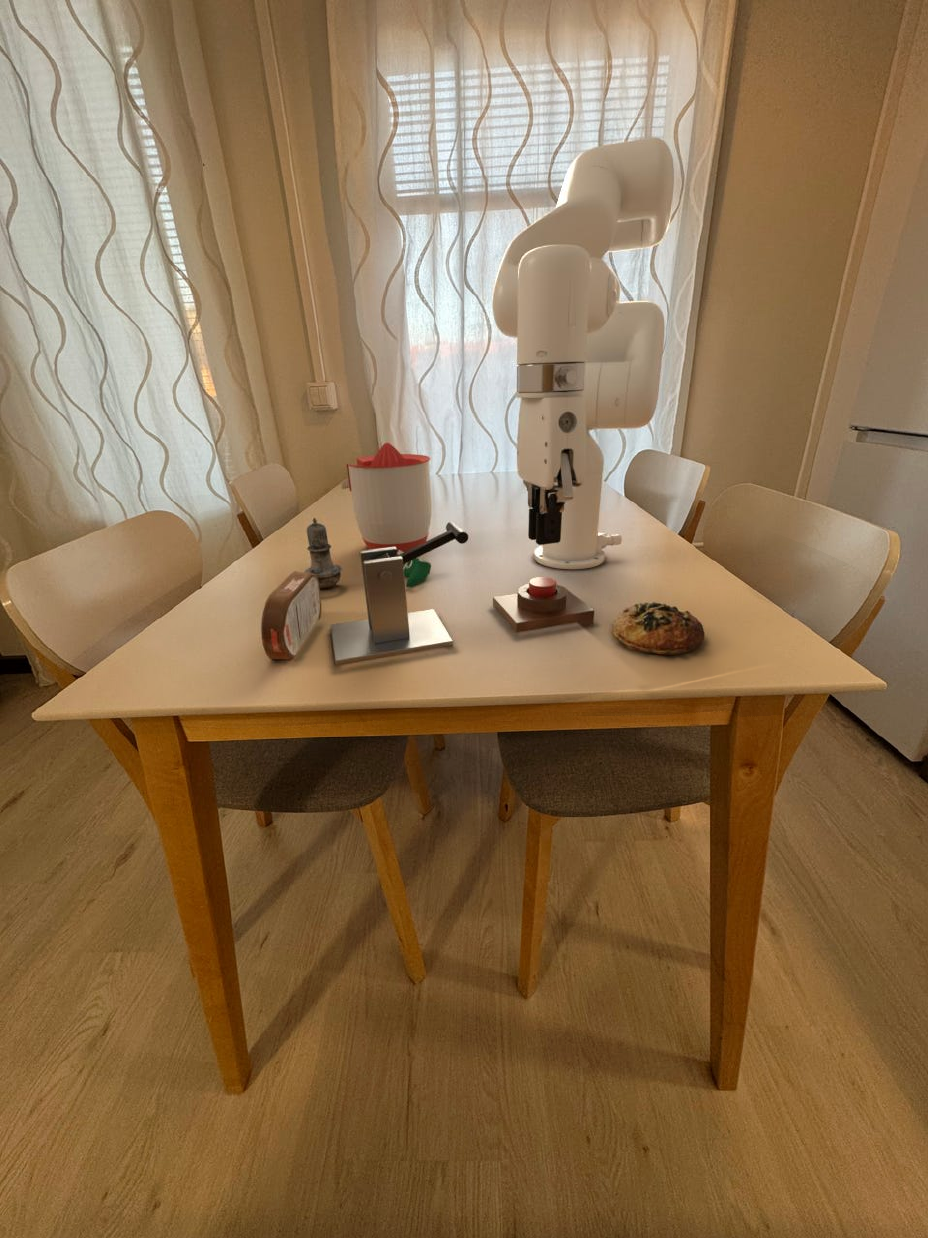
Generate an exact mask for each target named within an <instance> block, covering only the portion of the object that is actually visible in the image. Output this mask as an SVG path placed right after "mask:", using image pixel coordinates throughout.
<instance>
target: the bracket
mask: <svg viewBox="0 0 928 1238" xmlns="http://www.w3.org/2000/svg"><path fill="white" fill-rule="evenodd" d="M385 553H387V554H388V555H389V557H390V558H384V559H375V558H377V557H379V556H381V555H383V554H385ZM397 554H398V553H397V549H396V547H388V548H380V549H371V550H369V549H365V550H363V549H362V550H359V556H360V557H359V559H360V565H361V573H362V580H363V588H364V589H363V590H364V595H365V605H366V611H367V618H366V619H359V620H353V621H345V622H339V623H332V624H330V632H331V639H332V647H333V655H334V663H335V666H339V665H347V664H352V663H359V662H363V661H364V662H365V661H370V660H375V659H381V658H386V657H393V656H399V655H404V654H411V653H416V652H423V651H427V650H428V651H429V650H434V649H440V648H445V647H452V646H454V640H453V639H452V637H451V636H450V634H449V632H448V631H447V629H446V627H445V626H444V624H443V622H442V621H441V619H440V617H439V615H438V614H437V612H436V611H435V609H434V608H432V609H424V610H419V611H412V612H411V611H410V612H409V611H408V603H407V602H408V601H407V591H406V581H405V580H406V578H405V577H404V568H403V559H402V557H401V556H400V557H396V556H397ZM373 559H375V560H373Z"/></svg>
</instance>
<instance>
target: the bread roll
mask: <svg viewBox="0 0 928 1238" xmlns="http://www.w3.org/2000/svg"><path fill="white" fill-rule="evenodd" d="M612 628H613V635H614V637H615V638H616V639H618V640H619V642H621V644H623V646H625V647H626V648H628V649H630V650H633V651H636V652H638V653H650V654H651V653H652V654H657V655H663V656H671V655H679V654H681V655H682V654H685V653H689V652H693V651H694V650H696V649H697V648H699V647H700V645H701V644H702V643H703V642H704V640H705V635H706V634H705V630H704V626H703V624H702V622H701V621H700V620H699V619H698V618H697V617H695V616H694V615H693V614H692V613H691V612H690V611H688V610H685V611H680V610H679V609H678V607H677V606H675V605H674V606H670V605H669V604H666V603H661V602H655V601H653V602H651V603H649V602H644V603H641V602H639V603H635V604H633V605H630V606H626V607H625V608H624V609H623V610H622V611H621V612H619V614H618V615H617V616H616V617H615V619H614V620H613V624H612Z"/></svg>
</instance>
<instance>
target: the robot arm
mask: <svg viewBox="0 0 928 1238" xmlns="http://www.w3.org/2000/svg"><path fill="white" fill-rule="evenodd" d="M563 180H564V181H563V184H562V186H561V190H560V193H559V197H558V200H557V202H556V206H555V208H553V209H552V210H549V212H547V213H546V214H544V215H543V216H541V217H540V218H539V219H537V220H536V221H535V222H533V223H531V224H530V225H529V226H527V227H526V228H524V229H522V231H521V232H520V233H518V234H517V235H516V236H515V237H514V238H513V239H512V241H510V243H509V244H508V245H507V247H506V250H505V252H504V254H503V256H502V259H501V262H500V264H499V267H498V271H497V274H496V277H495V280H494V281H495V282H494V286H493V289H492V290H493V291H492V298H491V299H492V300H491V301H492V302H491V303H492V306H491V307H492V315H493V319H494V322H495V325H496V327H497V328H498V330H499V332H500V333H501V334H502V335H504V336H506V337H509V338H513V339H516V396H515V397H516V398H517V399H519V398H520V402H519V411H518V412H519V413H518V422H517V437H516V438H517V439H516V440H517V441H516V470H517V475H518V476H519V478H521V479H522V482H523V485H524V486H525V488H526V491H527V506H528V529H527V530H528V532H527V533H528V534H527V535H528V536H527V537H528V539H529V540H531V541H535V544H537V545H538V547H537V548H535V549H534V551H533V559H534V560H535V561H536V563H538V564H540V565H542V566H545V567H548V568H554V569H559V570H584V569H590V568H595V567H597V566H599V565H601V564H603V563H604V562H605V559H606V558H605V557H606V554H605V551H604V550H603V549H605V548H607V546H610V547H613V546H619V545H621V544H622V543H623V542H622V541H623V537H622V535H621V534H620V533H617V534H615V533H614V534H609V535H608V533H607V532H599V525H600V511H601V499H602V487H603V476H604V475H603V474H604V473H603V472H604V465H605V461H604V460H605V459H604V454H603V452H602V449H601V447H600V445H599V444H598V443H597V441H596V440H595V439H594V437H593V436H592V435H591V433H590V431H594V430H595V431H597V430H633V429H640V428H643V427H645V426H647V425H648V424H649V423H650V422H651V421H652V419H653V418H654V415H655V412H656V409H657V405H658V399H659V391H660V383H661V382H660V381H661V371H662V363H663V352H664V344H665V329H666V328H665V315H664V312H663V309H662V308H661V306H660V305H658V304H657V303H656V302H653V301H650V300H634V301H633V300H632V301H621V302H620V299H621V293H622V287H621V282H620V280H619V278H618V276H617V275H616V273H615V272H614V271H613V269H612V268H611V267H610V266H609V264H608V263H607V262H605V260H603V258H604V257H605V256H606V255H607V253H615V252H623V251H632V250H633V251H634V250H641V249H648V248H652V247H655V246H657V245H659V244H660V243H661V242H662V241H663V239H665V237H666V234H667V232H668V229H669V227H670V223H671V219H672V211H673V210H672V209H673V199H674V198H673V197H674V189H675V188H674V187H675V166H674V157H673V155H672V151H671V149H670V146H669V145H668V143H667V142H666V141H665V140H663V139H661V138H659V137H653V136H651V137H646V138H645V137H644V138H641V139H635V140H629V141H622V142H616V143H610V144H605V145H604V144H603V145H599V146H595V147H592V148H590V149H587V150H585V151H584V152H582V153H580V154H579V155H578V156H577V157H576V158H575V159H574V160H573V162H571V164H570V166H569V167H568V170H567V172H566V174H565V177H564V179H563Z"/></svg>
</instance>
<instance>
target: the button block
mask: <svg viewBox="0 0 928 1238" xmlns="http://www.w3.org/2000/svg"><path fill="white" fill-rule="evenodd" d="M492 606H493V608H494V609H495V610H496V611H497V612H498V613H499V614H500V616H501V617H502V618H503V619H504V620H505V621H506V623H507V624H508V625H509V626H510V627H511V628H512V629H513V630H514V631H515V633H523V632H528V631H534V630H539V629H545V628H550V627H556V626H562V625H568V624H575V623H577V624H578V625H579V626H580V627H589V626H594V620H595V610H594V608H592V607H591V606H589V605H588V604H587V603H586V602H584V601H583V600H582V599H580V598H579V597H578V596H577V595H575V594H574V593H572V592H571V591H570V590H568V588H566V587H565V586H563V585H561V584H557V583H556V595H554V596H552V597H535V596H532V595H529V583H526V584H523V585H521V586H519V587H518V590H517V593H512V594H511V593H510V594H504V595H498V596H493V597H492Z"/></svg>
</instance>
